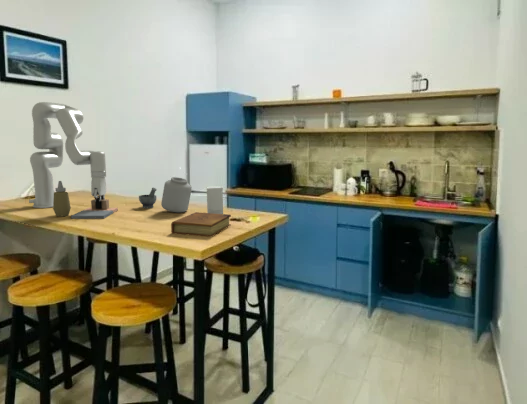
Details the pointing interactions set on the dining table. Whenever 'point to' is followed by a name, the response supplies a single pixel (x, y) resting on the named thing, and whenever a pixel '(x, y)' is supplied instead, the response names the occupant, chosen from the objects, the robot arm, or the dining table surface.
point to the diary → (201, 224)
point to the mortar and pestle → (148, 199)
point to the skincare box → (215, 200)
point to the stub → (104, 206)
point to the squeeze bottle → (61, 201)
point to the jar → (176, 195)
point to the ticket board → (92, 214)
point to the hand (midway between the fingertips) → (100, 207)
